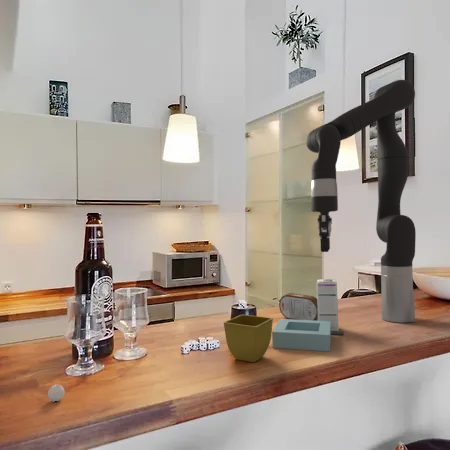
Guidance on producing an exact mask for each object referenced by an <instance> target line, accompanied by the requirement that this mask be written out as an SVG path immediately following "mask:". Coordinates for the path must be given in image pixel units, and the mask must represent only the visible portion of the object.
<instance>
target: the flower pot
mask: <svg viewBox="0 0 450 450" xmlns="http://www.w3.org/2000/svg"><path fill="white" fill-rule="evenodd" d="M273 322H274V318H273V317H268V316H267V317H266V316H260V315H258V316H257V315H251V314H240V315H237V316H235V317H233V318H231V319H227V320H226V321H224V322H223V326H224V327H223V328H224V334H225V339H226V340H225V341H226V346H227V347H228V350H229V352H230V353H231V355H232V357H233V358H234V359H235V360H238V361H239V360H240V361H244V362H250V363H255V362H257V361H258V360H260V359H261V358H262V357H264V355H265V354H266V352H267V350H268V349H269V346H270V343H271V340H272V331H273Z"/></svg>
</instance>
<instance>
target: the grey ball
mask: <svg viewBox="0 0 450 450" xmlns="http://www.w3.org/2000/svg"><path fill="white" fill-rule="evenodd" d="M65 393H66V392H65V389H64V387H63V386H62V385H61V384H54V385H52V386H51V387H49V389H48V392H47V398H48V399H49V401H50V402H54V403H56V402H55V401H57V402H60V401H61V400H62V399H63V397H64V396H65Z"/></svg>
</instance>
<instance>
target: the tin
mask: <svg viewBox="0 0 450 450" xmlns="http://www.w3.org/2000/svg"><path fill="white" fill-rule="evenodd" d="M278 305H279V306H278V307H279V311H280V313H281V315H282V316H283V317H284V318H285V319H293V320H314V321H318V309H317V297H315V296H314V295H309V294H301V293H295V292H288V293H286V294H284V295H283V296H281V297H280V299H279V302H278Z"/></svg>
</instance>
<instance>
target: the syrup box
mask: <svg viewBox="0 0 450 450" xmlns="http://www.w3.org/2000/svg"><path fill="white" fill-rule="evenodd" d="M316 298H317V309H318V320H317V321H331V331H340V329H339V303H338V302H339V300H338V298H339V297H338V283H337V280H336V279H333V278H321V279H316Z"/></svg>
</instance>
